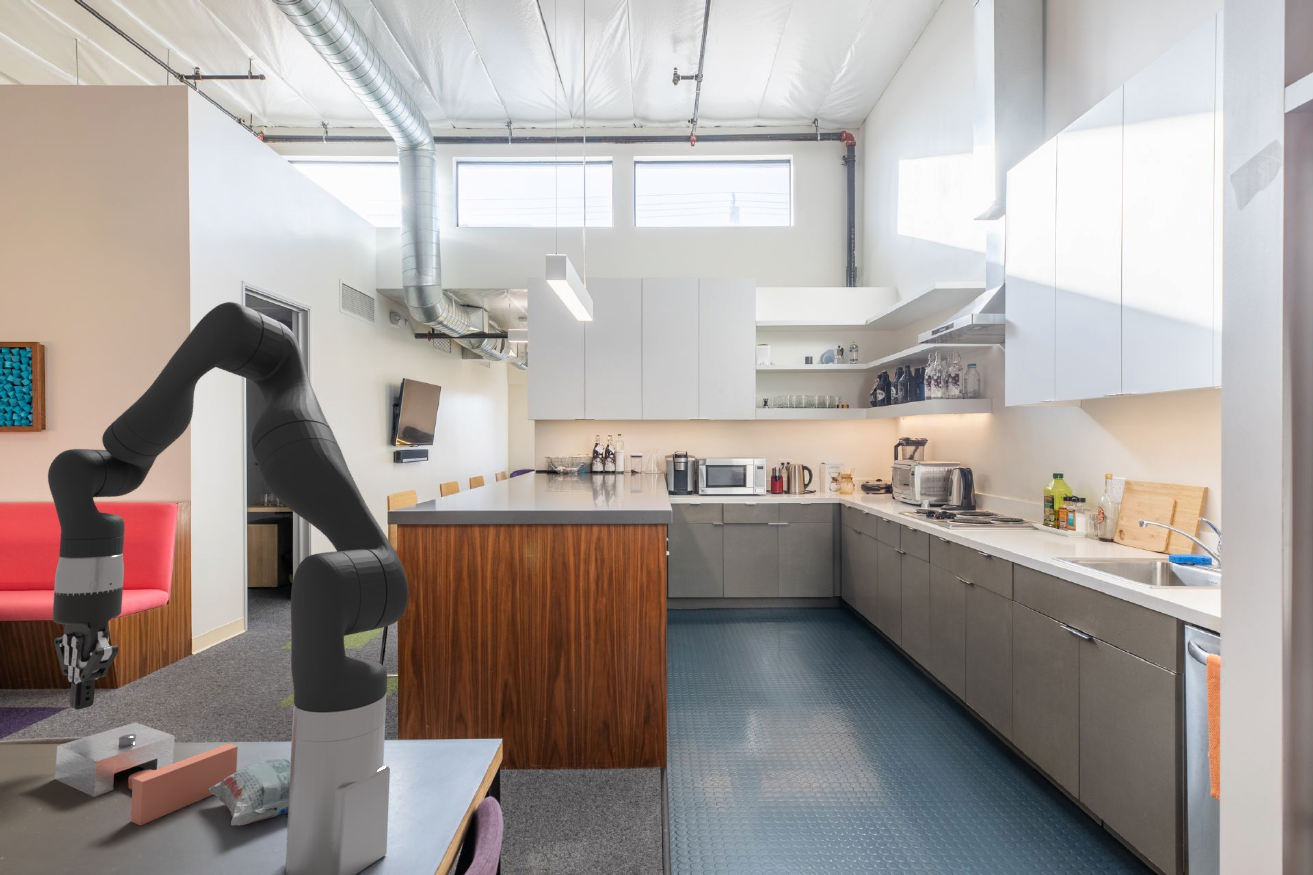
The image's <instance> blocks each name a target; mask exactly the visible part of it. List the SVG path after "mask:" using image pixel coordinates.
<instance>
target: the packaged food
mask: <svg viewBox="0 0 1313 875" xmlns="http://www.w3.org/2000/svg"><path fill="white" fill-rule="evenodd" d="M290 763H291V761H290V760H288V759H285V758H284V759H268V760H265V761H261V762H258V763H254V764H252V765H248V766H247V767H245V768H243V769H241V770H239V771H236V773H234V774H232V775H230V776H228V777H227V778H225V779H224V780H223V781H222V782H219V783H217V784H216V785H214V786H213V787H211V788H209V790H208V792H210V793H212V794H213V795H214V796H215V797H218V800H219V801H220V802H222V803H223V804H224V805H225V806H226V807H227V808H228V810H229V812H230V815H231V817H232V819H231V822H230V824H231V826H244V825H248V824H252V823H256V822H259V821H263V820H268V819H271V818H274V817H277V816H281V815H285V814H288V804H289V783H290ZM213 795H212V796H213Z"/></svg>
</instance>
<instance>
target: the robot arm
mask: <svg viewBox="0 0 1313 875" xmlns="http://www.w3.org/2000/svg"><path fill="white" fill-rule="evenodd" d="M215 368H218V369H220V370H222V371H225V372H228V373H231V374H233V375H236V376H240V377H242V378H245V379H247V380H249V381H252V382H253V383H254V384H256V386H257V387H258V388H259V390H260V392H261V394H262V396H263V398H264V401H265V404H266V407H265V408H264V410H263V411H262V413H261V414H260V416H259V418H258V419H257V422H256V423H255V425H254V428H253V429H252V430H253V431H252V433H251V439H250V440H251V441H250V442H251V450H252V453H253V456H254V458H255V460H256V463H257V466H258V469H259V471H260V474H261V477H262V479H263V482H264V484H265V486H266V488H268V490H269V491H270V493H271V494H272V495H273V496H274V497H275V498H276V499H277V500H278V501H280V503H282V504H283V505H284V506H286V507H287V508H288V509H290V510H291V511H293V513H295V514H296V515H298V516H299V517H301V519H303V520H305V521H306V522H308V523H309V524H310V525H312V526H313V527H315V528H316V530H318V531H320V532H321V534H323V535H324V536H325V537H326V539H328V541H329V542H330V543H331V544H332V546H333V547H334V549H335V550H336V551H328V552H326V551H325V552H319V553H314V554H310V555H308V556H306V557H305V558H304V559H303V560H302V561H301V562H300V563H299V564H298V566H297V568H296V570H295V573H294V575H293V578H292V584H291V592H290V593H291V594H290V629H291V631H290V632H291V642H290V643H291V644H290V645H291V647H290V648H291V649H290V650H291V651H290V652H291V655H290V656H291V657H290V665H291V667H290V670H291V671H290V672H291V677H292V685H293V707H292V708H293V709H292V711H293V712H292V725H291V726H292V729H291V730H292V732H291V745H290V746H291V748H290V783H289V804H288V813H287V825H286V826H287V827H286V828H287V829H286V856H285V872H286V875H357V874H358V873H360V872H362V871H363V870H365V869H366V868H368V867H369V866H371V865H372V864H374V863H375V862H377V861H378V860H380V859H381V858H383V857H384V856H386V855H387V854H388V853H387V852H388V849H387V847H388V823H389V804H390V803H389V802H390V780H391V779H390V778H391V776H390V775H391V768H390V766H389V765H387V764H386V765H385V764H384V760H385V759H384V757H385V737H386V735H385V732H386V731H385V730H386V714H387V712H386V711H387V710H386V709H387V691H388V671H387V669H386V667H385V666H384V665H383V664H381V663H379V662H378V661H374V660H371V659H363V658H358V657H356V658H355V657H349V656H347V655H346V650H345V649H346V648H345V637H346V636H350V635H354V634H361V633H364V632H368V631H374V630H377V629H382V628H385V627H388V626H391V625H394V624H396V623H398V621H400V620H401V619H402V617H403V616H404V615H405V613H406V611H407V607H408V604H409V598H410V597H409V594H410V593H409V584H408V579H407V575H406V572H405V570H404V567H403V564H402V561H401V560H400V558H399V556H398V553H397V552H396V550H395V549H394V547H393V545H392V544H391V542H390V541H389V539H388V537H387V536H386V534H385V533H384V531H383V529H382V528H381V526H380V525H379V522H378V521H377V519H376V518H375V517H374V514H373V513H372V512H371V510H370V508H369V506H368V504H367V503H366V501H365V499H364V497H363V495H362V493H361V491H360V489H359V487H358V486H357V485H358V484H356V481H355V480H354V478H353V476H352V473H351V471H350V469H349V467H348V464H347V463H346V460H345V456H344V455H343V452H342V449H341V447H340V445H339V443H338V441H337V439H336V436H335V435H334V432H333V430H332V428H331V426H330V424H329V423H328V421H327V419H326V416H325V414H324V413H323V410H322V407H321V405H320V402H319V401H318V398H317V395H316V393H315V391H314V388H313V387H312V383H311V381H310V377H309V375H308V371H307V368H306V363H305V360H304V357H303V352H302V351H301V348H300V344H299V341H298V340H297V337H296V335H295V334H294V333H293V331H292V330H291V329H290V328H289V327H288V326H287V325H286V324H284V323H283V322H281V321H278V320H277V319H273V318H272V317H270V316H267V315H265V314H263V313H261V312H258V311H256V310H255V309H252V308H251V307H249V306H245V304H244V305H243V304H241V303H237V302H234V301H233V302H232V301H228V302H227V301H226V302H223V303H220V304H218V305H217V306H215V307H213V308H212V309H211V310H209V311H208V313H206V314H205V315H203V317H202V318H201V319H200V320H199V321H198V323H197V324H196V325H195V326H194V328H192V331H190V333H189V334H188V335H187V337H186V338H185V339H184V341H183V342H182V343H181V344H180V346H179V347H178V349H177V350H176V351H175V352H174V354H173V355H172V356H171V358H169V360H168V361H167V364H166V365H165V366H164V367H163V368H162V370H161V371H160V373H159V374H158V376H157V377H156V378H155V380H154V381H153V383H152V384H151V385H150V386H149V388H147V390H145V392H144V393H143V394H142V395H141V396H140V397H139V398H138V399H137V400H136V401H135V402H133V404H131V406H129V407H127V409H126V410H124V412H122V413H121V414H120V415H119V416H118V417H117V418H116V419H115V420H114V421H112V423H111V424H110V425H109V426H107V427H106V429H105V431H103V435H102V438H101V439H102V440H101V442H102V446H103V447H104V449H92V448H91V449H89V448H73V449H67V450H64V451H62V452H59V454H57V455H56V456H55V457H54V459H53V460H52V462H51V463H50V466H49V467H48V472H47V483H48V486H49V490H50V494H51V496H52V499H53V503H54V506H55V507H54V508H55V509H56V510H55V511H56V515H57V518H58V521H59V525H60V540H59V541H60V542H59V557H58V563H57V566H56V570H55V578H54V590H53V604H52V606H53V607H52V616H51V618H52V619H51V620H52V621H53V622H54V623H56V624H59V625H65V626H64V629H63V632H64V634H63V635H62V636H61V637H60V636H59V637H55V639H54V641H53V645H54V648H55V651H56V655H57V659H58V661H59V665H60V669H61V674H62V675H63V676H67V679H68V682H69V683H71V685H70V698H69V707H70V708H72V709H74V710H76V711H77V710H82V709H86V708H90V707H92V706H93V705H94V704H95V703H94V702H95V691H96V690H95V689H96V688H95V687H96V680H98V679H100V678H103V677H105V676H106V675H107V673H108V671H109V669H110V667H111V666H112V665H113V664H112V663H113V662H114V660H115V659H116V656H117V655H118V653H119V647H118V645H117V644H115V645H111V644H109V641H110V629H109V628H110V627H109V622H110V621H111V620H112V619H115V618H118V617H119V616H120V615H121V614H122V608H123V607H122V606H123V593H124V577H125V576H124V574H125V564H124V546H125V545H124V544H125V543H124V541H125V520H124V518H123V517H122V516H121V515H118V514H113V513H109V512H107V513H106V512H101V511H99V509H98V507H97V505H96V503H95V500H94V498H113V497H122V496H125V495H128V494H130V493H132V492H133V491H136V490H137V489H138V488H139V487H140V486H141V485H142V484H143V483H144V481H145V479H146V478H147V477H148V474H149V472H150V471H151V468H152V467H153V465H154V463H155V461H156V459H157V457H158V456H159V455H160V454H162V453H163V452H164V451H165V450H167V448H169V447H170V446H171V445H173V444H174V442H176V440H177V439H179V438H180V437H181V435H182V436H183V434H184V433H185V431H186V430H187V428H188V426H189V425H190V423H191V421H192V417H193V411H194V400H195V397H194V396H195V390H196V386H197V384H198V381H199V380H200V379H201V378H202V377H203V376H204V375H205V374H207V373H208V372H210V371H211V370H213V369H215Z"/></svg>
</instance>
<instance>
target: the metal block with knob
mask: <svg viewBox="0 0 1313 875" xmlns="http://www.w3.org/2000/svg"><path fill="white" fill-rule="evenodd" d="M175 736H176V735H173V734H171V733H168V732H165V731H162V730H159V729H156V728H153V727H150V726H147V725H144V724H140V723H138V722H132V723H129V724H125V725H122V726H119V727H114V728H112V729H109V730H106V731H105V730H104V731H101V732H98V733H95V734H91V735H89V736H85V737H81V738H79V739H75V740H72V741H68V742H65V743H61V744H59V745H57V746H56V760H55V775H54V776H55V777H54V780H56V781H57V782H60V783H62V784H64V785H67V786H70V787H71V788H74V789H76V790H78V791H80V792H82V793H85V794H86V795H90V796H91V797H97V796H100V795H101V796H102V795H103V794H105V793H109V792H111V791H114V782H115V781H114V780H115V774H117V773H120V772H122V771H125V770H128V769H131V768H134V767H137V768H141V769H143V770H157V769H160V768H162V767H165V766H168V765H171V764H173V763H174V757H175V756H174V755H175V753H174V752H175Z"/></svg>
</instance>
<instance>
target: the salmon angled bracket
mask: <svg viewBox="0 0 1313 875" xmlns="http://www.w3.org/2000/svg"><path fill="white" fill-rule="evenodd" d="M238 748H239V747H238V745H234V744H231V743H226V744H223V745H221V746H218V747H214V748H212V749H209V750H207V751H204V752H201V753H198V754H195V755H192V756H191V757H187V758H185V759H182V760H180V761H177V762H173V764H171V765H168V766H165V767H162V768H160V769H157V770H145V769H143V770H139V771H136V772H133V773H131V774H130V775H129V776H128V782H127V788H128V789H129V790H132V791H131V793H132V794H131V810H130V812H131V813H130V822H131V823H134V824H136V825H138V826H142V825H146V824H147V823H149V822H152V821H154V820H157V819H159V818H161V817H164V816H165V815H168V814H170V813H173V812H175V811H177V810H180V809H182V808H184V807H187V806H189V805H192V804H194V803H196V802H199V801H201V800H203V799H205V798H208V797H210V796H213V794H212V793H210V792H208V790H209V788H211V787H213V786H214V785H216V784H217V783H219V782H222V781H223V780H224V779H225V778H227V777H228V776H230V775H232V774H234V773H236V772H237V770H238V769H237V768H238V767H237V766H238V765H237V764H238Z"/></svg>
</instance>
